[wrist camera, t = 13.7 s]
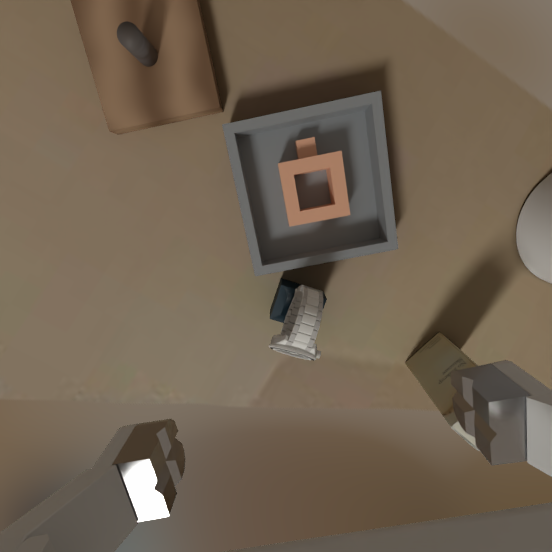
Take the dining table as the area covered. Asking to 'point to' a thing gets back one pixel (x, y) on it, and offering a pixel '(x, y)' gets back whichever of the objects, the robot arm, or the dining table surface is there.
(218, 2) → the dining table surface
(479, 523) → the robot arm
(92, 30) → the base
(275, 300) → the watch
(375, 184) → the tray
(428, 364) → the skincare box
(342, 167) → the ring
